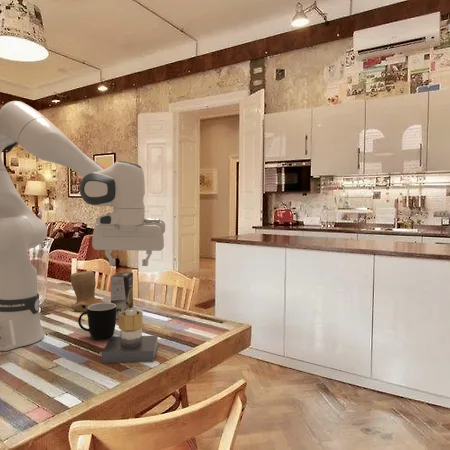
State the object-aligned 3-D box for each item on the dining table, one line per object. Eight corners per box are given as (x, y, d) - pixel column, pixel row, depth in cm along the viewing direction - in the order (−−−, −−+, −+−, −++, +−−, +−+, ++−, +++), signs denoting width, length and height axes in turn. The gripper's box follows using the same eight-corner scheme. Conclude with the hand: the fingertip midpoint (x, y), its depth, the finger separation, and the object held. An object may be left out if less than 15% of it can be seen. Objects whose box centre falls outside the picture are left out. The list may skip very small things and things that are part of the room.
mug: (119, 331, 132) (118, 302, 131) (113, 341, 123) (113, 310, 122) (82, 332, 131) (82, 302, 130) (74, 342, 122) (73, 310, 121)
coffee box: (127, 319, 145) (127, 276, 143) (110, 319, 145) (109, 276, 143) (134, 312, 154) (133, 272, 152) (117, 312, 154) (117, 271, 153)
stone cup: (75, 302, 167) (74, 268, 166) (104, 302, 168) (103, 267, 167) (64, 313, 152) (63, 275, 151) (96, 312, 153) (95, 275, 152)
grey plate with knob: (102, 362, 108) (101, 316, 107) (111, 346, 120) (110, 304, 119) (153, 361, 109) (153, 315, 108) (157, 345, 121) (157, 303, 120)
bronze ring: (117, 330, 110) (117, 316, 110) (121, 323, 116) (121, 310, 116) (140, 330, 110) (140, 316, 110) (143, 322, 117) (143, 309, 117)
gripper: (166, 218, 117) (165, 264, 118) (96, 216, 115) (96, 263, 116) (164, 219, 111) (163, 267, 112) (90, 218, 109) (90, 267, 110)
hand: (128, 265), depth 114 cm, fingers open, 8 cm apart
